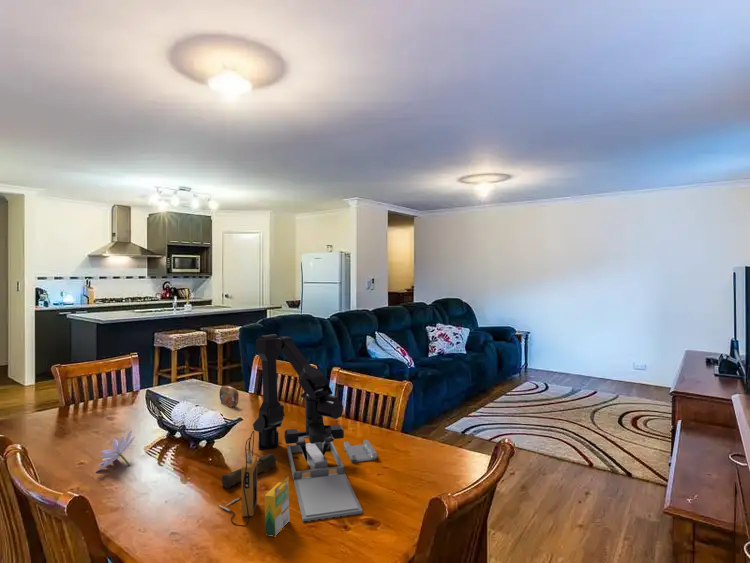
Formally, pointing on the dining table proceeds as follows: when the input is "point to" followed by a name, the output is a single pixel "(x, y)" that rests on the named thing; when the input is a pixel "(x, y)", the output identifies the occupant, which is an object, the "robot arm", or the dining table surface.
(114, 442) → the lavender daisy flower
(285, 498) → the crayon box
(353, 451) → the stay bracket
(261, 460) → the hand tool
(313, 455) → the white square bar
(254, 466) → the multimeter
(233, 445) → the dining table surface
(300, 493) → the case
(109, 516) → the dining table surface
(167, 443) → the dining table surface
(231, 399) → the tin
